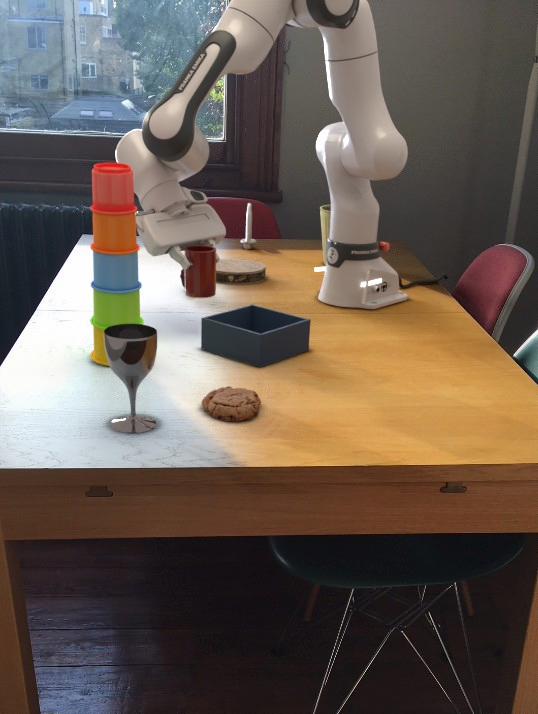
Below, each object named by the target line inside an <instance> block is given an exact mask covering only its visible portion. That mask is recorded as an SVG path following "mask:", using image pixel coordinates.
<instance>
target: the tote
mask: <svg viewBox="0 0 538 714" xmlns="http://www.w3.org/2000/svg"><path fill="white" fill-rule="evenodd" d="M200 319H201V321H200V323H201V325H200V326H201V327H200V329H201V330H200V333H201V334H200V336H201V337H200V350H203V351H205V352H209V353H211V354H215V355H217V356H222V357H224V358H228V359H231V360H235V361H237V362H240V363H244V364H246V365H251V366H254V367H256V368H262V367H265V366H268V365H271V364H275V363H277V362H279V361H283V360H285V359H288V358H291V357H294V356H297V355H300V354H302V353H305V352H308V351H309V350H310V334H311V322H312V321H311V319H310V318H307V317H303V316H299V315H294V314H291V313H287V312H283V311H279V310H275V309H272V308H267V307H264V306H260V305H256V304H252V303H251V304H248V305H245V306H241V307H240V306H239V307H237V308H233V309H230V310H226V311H222V312H218V313H214V314H210V315H207V316H203V317H201V318H200Z"/></svg>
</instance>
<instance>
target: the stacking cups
mask: <svg viewBox="0 0 538 714" xmlns="http://www.w3.org/2000/svg"><path fill="white" fill-rule="evenodd" d="M91 187H92V188H91V189H92V191H91V192H92V205H90V207H89V209H90V211H91V212H92V233H93V234H92V239H93V240H92V241H93V243H91V244H90V246H89V248H90V250H91V251H92V266H93V268H92V269H93V270H92V271H93V280H91V282H90V286H91V289H92V290H93V293H92V295H93V296H92V297H93V315H92V316H91V318H90V319H89V320H90V324H91V325H92V328H93V333H92V334H93V350H92V351H91V352H90V356H89V358H90V359H91V361H93V362H94V363H96V364H98V365H101V366H107V367H110V366H109V364H108V360H107V357H106V352H105V344H104V330H105V329H106V328H108V327H110V326H114V325H119V324H142V325H144V321H145V320H144V318H143V317H141V299H140V298H141V297H140V290H141V289H142V286H143V284H142V282H140V280H139V251H140V248H141V246H140V245H139V244H138V243H137V241H138V240H137V227H136V212H137V211H138V207H137V205H135V193H134V184H133V170H131V166H130V165H127V164H122V163H117V162H101V163H95V164H94V165H93V168H92V169H91Z"/></svg>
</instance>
